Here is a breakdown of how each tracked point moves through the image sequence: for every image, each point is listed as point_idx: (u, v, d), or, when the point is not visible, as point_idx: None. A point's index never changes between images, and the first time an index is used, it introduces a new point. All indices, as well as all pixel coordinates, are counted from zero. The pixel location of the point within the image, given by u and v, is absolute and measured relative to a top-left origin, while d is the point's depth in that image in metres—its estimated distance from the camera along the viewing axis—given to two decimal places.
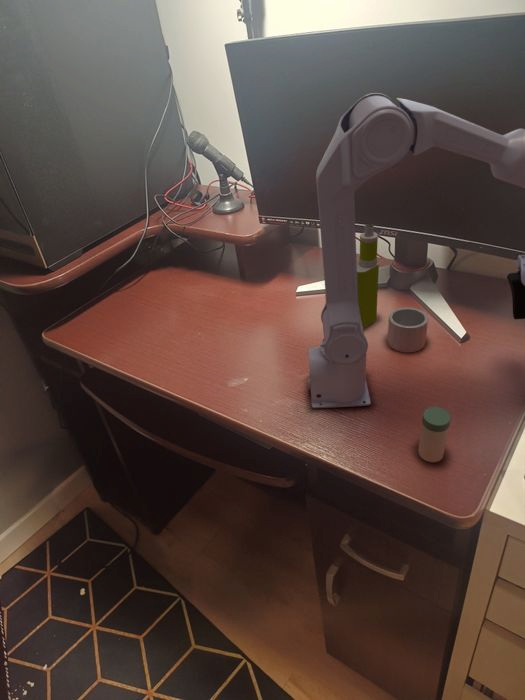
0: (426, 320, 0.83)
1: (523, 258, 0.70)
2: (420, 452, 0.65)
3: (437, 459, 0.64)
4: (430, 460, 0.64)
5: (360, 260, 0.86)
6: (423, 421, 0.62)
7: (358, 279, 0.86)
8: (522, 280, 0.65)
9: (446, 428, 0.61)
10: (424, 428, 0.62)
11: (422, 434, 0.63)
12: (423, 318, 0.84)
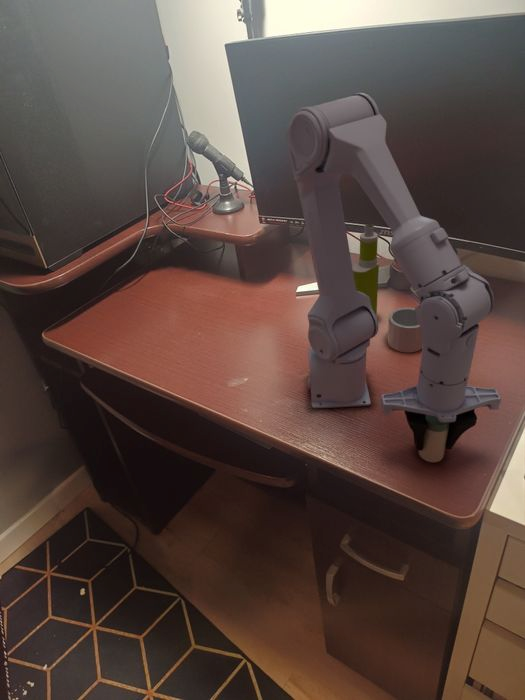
0: None
1: None
2: (420, 452, 0.65)
3: (438, 459, 0.64)
4: (430, 460, 0.64)
5: (360, 260, 0.86)
6: None
7: (358, 279, 0.86)
8: None
9: (446, 428, 0.61)
10: None
11: None
12: None
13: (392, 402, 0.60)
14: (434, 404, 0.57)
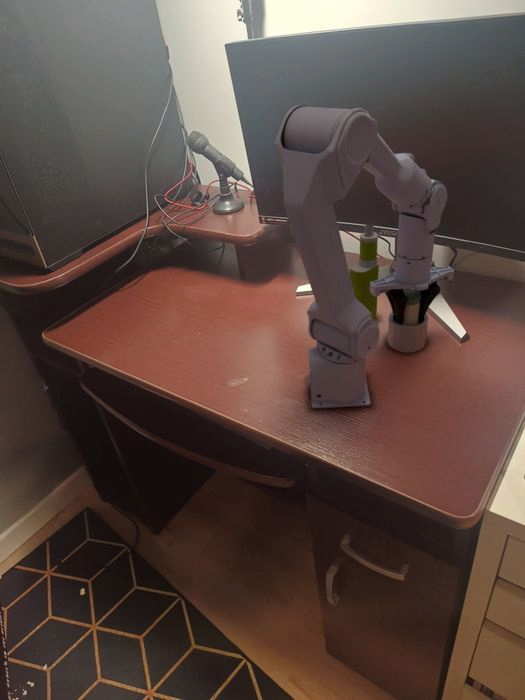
0: (426, 320, 0.83)
1: None
2: None
3: None
4: None
5: (360, 260, 0.86)
6: None
7: (358, 279, 0.86)
8: None
9: (419, 301, 0.81)
10: None
11: None
12: (423, 318, 0.84)
13: (379, 285, 0.78)
14: (411, 278, 0.76)
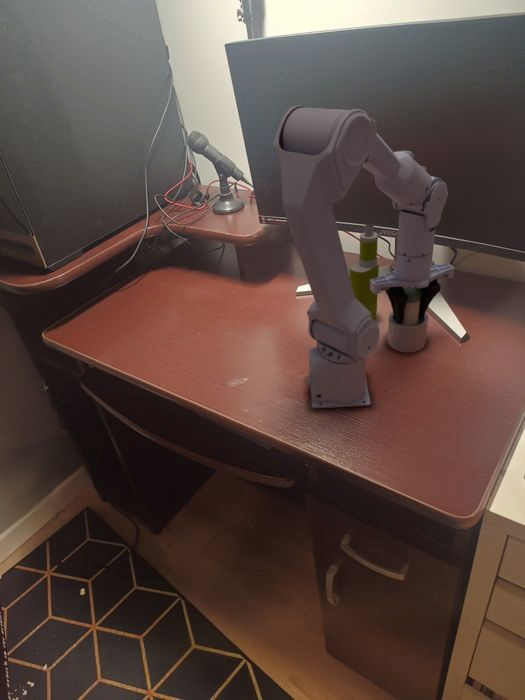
0: (426, 320, 0.83)
1: None
2: None
3: None
4: None
5: (360, 260, 0.86)
6: None
7: (358, 279, 0.86)
8: None
9: (419, 299, 0.80)
10: None
11: None
12: (423, 318, 0.84)
13: None
14: (412, 276, 0.76)
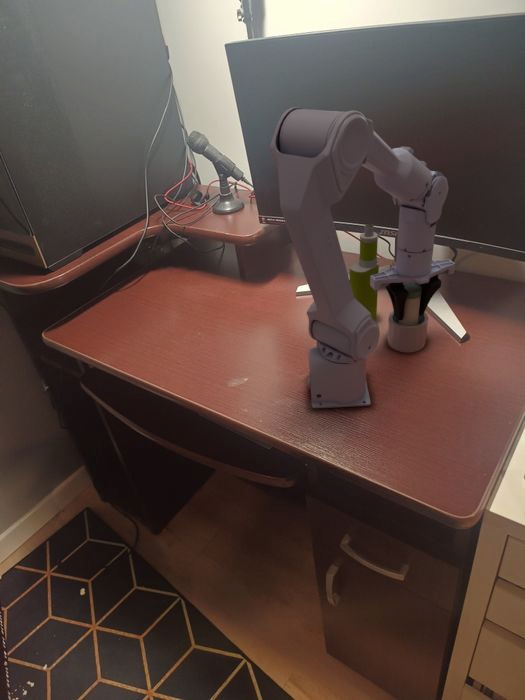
0: (426, 320, 0.83)
1: None
2: (401, 322, 0.84)
3: (415, 325, 0.83)
4: None
5: (360, 260, 0.86)
6: None
7: (358, 279, 0.86)
8: None
9: (420, 295, 0.80)
10: None
11: None
12: (423, 318, 0.84)
13: None
14: (412, 272, 0.76)
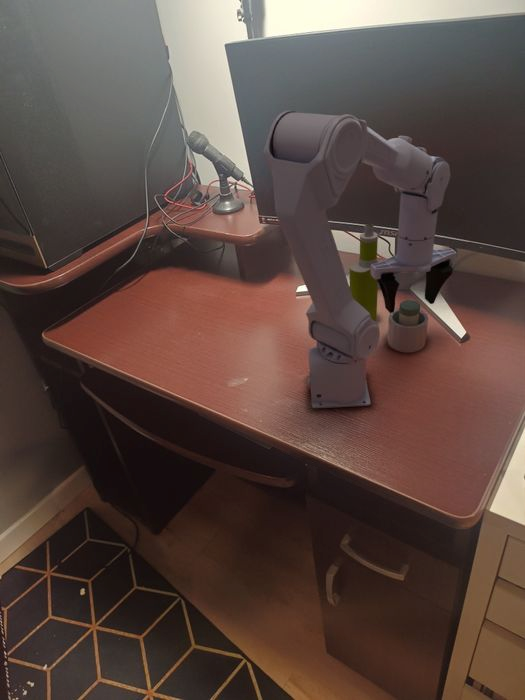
0: (426, 320, 0.83)
1: None
2: None
3: None
4: None
5: (360, 260, 0.86)
6: (401, 311, 0.83)
7: (358, 279, 0.86)
8: None
9: (418, 312, 0.82)
10: (402, 316, 0.83)
11: (401, 322, 0.84)
12: (423, 318, 0.84)
13: None
14: (413, 260, 0.74)
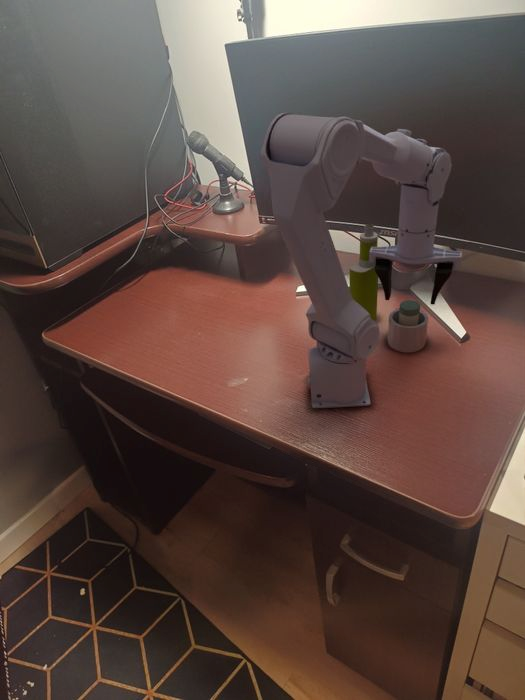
0: (426, 320, 0.83)
1: None
2: None
3: None
4: None
5: (360, 260, 0.86)
6: (401, 311, 0.83)
7: (358, 279, 0.86)
8: (410, 261, 0.74)
9: (418, 312, 0.82)
10: (402, 316, 0.83)
11: (401, 322, 0.84)
12: (423, 318, 0.84)
13: None
14: None
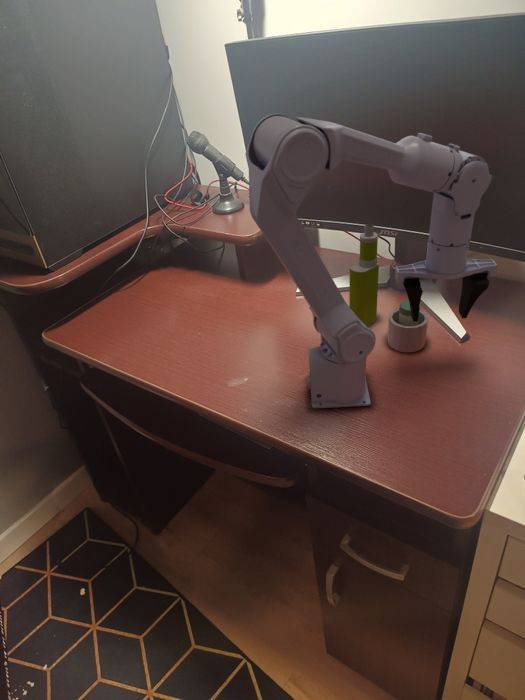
0: (426, 320, 0.83)
1: None
2: None
3: None
4: None
5: (360, 260, 0.86)
6: (401, 311, 0.83)
7: (358, 279, 0.86)
8: (449, 277, 0.68)
9: None
10: (402, 316, 0.83)
11: (401, 322, 0.84)
12: (423, 318, 0.84)
13: None
14: None
